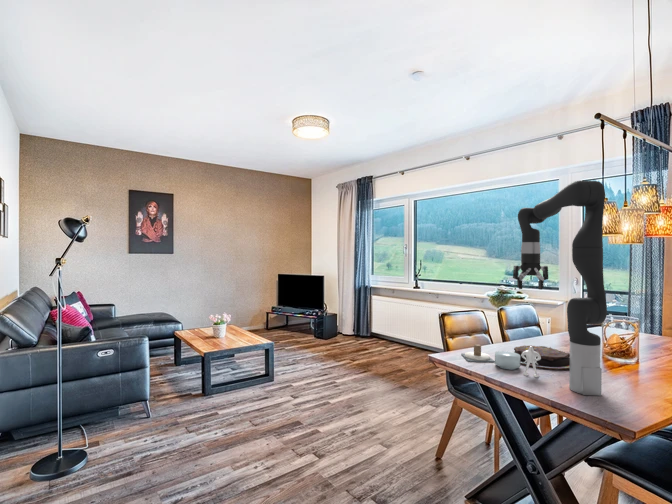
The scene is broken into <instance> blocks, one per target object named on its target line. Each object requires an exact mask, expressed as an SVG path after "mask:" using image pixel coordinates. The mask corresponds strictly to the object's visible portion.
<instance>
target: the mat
mask: <svg viewBox="0 0 672 504" xmlns="http://www.w3.org/2000/svg"><path fill="white" fill-rule="evenodd" d="M465 353H466V352H465ZM465 353H464V352H463V353H462V352H461V356H462V357H463V358H464V359H465V360H466V361H467V362H468V363H495V359H493V358H491V357H490V359H489V360H485V361H479V360H472V359H468V358H466V357H465Z"/></svg>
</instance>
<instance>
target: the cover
mask: <svg viewBox="0 0 672 504" xmlns="http://www.w3.org/2000/svg"><path fill="white" fill-rule="evenodd" d="M465 357H466V358H468V359H472V360H479V361H485V360H489V359H490V358H491V355H490V354H488V353H485V352H482V345H481V344H473V351H467V352H465Z"/></svg>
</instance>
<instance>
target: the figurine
mask: <svg viewBox="0 0 672 504" xmlns="http://www.w3.org/2000/svg"><path fill="white" fill-rule="evenodd" d="M529 346H530V347H529V350H526V351H524V352H523V353H522V354H521V356H522V357H523V358H524V359H525V360H526V361H525V362H527V365H526V366H525V371H523V373H522V375H523V376H526V377H528V376H529V373H528V370H529V368H530V367H529V365H530V363H532V365H533V367H532V368H533V371H534V374H532V375H533V376H532V377H534V378H539V377H540V374H539V373H538V372H537V368H536V366H535V363H536V364H537V362H536V361H538V360H540V359H541V356H540V355H539V354H538V353H537V352H535V351H534V350H533V347H532V346H533V345H532V346H531V345H529ZM524 355H526V358H527V359H526V358H525V357H524ZM536 357H538V358H537V359H536ZM535 359H536V360H535ZM525 362H524V363H525Z"/></svg>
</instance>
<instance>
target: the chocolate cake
mask: <svg viewBox="0 0 672 504" xmlns="http://www.w3.org/2000/svg"><path fill="white" fill-rule="evenodd" d="M530 346H532V347H533V350H534V351H535V352H537V353H538V354H539V355H540V356H541V359H540V360H538V361H536V362H537V364H536V363H535V366H536V369H540V370H541V369H544V370H550V371H555V370H560V371H566V370H569V360H570V352H566V351H563V350H559V349H557V348H552V347H551V346H550V347H548V346H545V345H537V346H536V345H525V344H524V345H521V346H515V347H514V348H513V352H514V353H517V354H519V355H520V366H521V365H522V366H525V367H526V365H527V362H525V361H526V360H525V359H524V358H523V357H522V356H521V354H522V353H523V352H524V351H526V350H529V347H530ZM524 357H525V358H526V355H524ZM537 358H538V357H536V359H537ZM526 359H527V358H526ZM536 359H535V360H536ZM524 362H525V363H524ZM529 368H533V365H532V363H530V365H529Z"/></svg>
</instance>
